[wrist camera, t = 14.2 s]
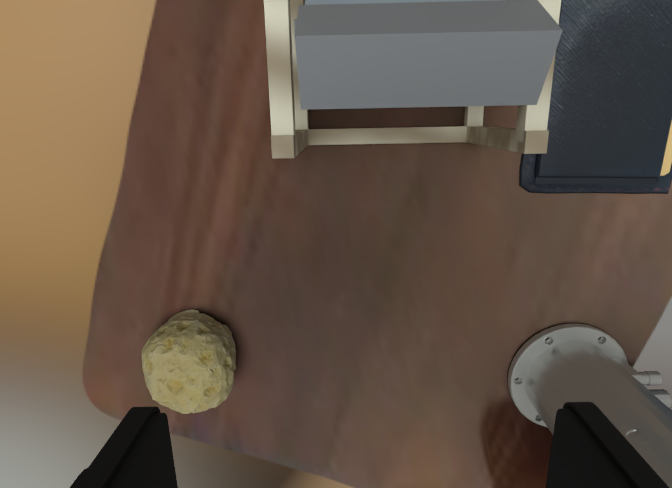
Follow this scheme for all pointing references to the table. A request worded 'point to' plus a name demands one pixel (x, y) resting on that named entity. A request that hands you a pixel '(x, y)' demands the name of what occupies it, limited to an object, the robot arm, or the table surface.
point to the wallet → (608, 101)
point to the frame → (296, 134)
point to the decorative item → (190, 362)
